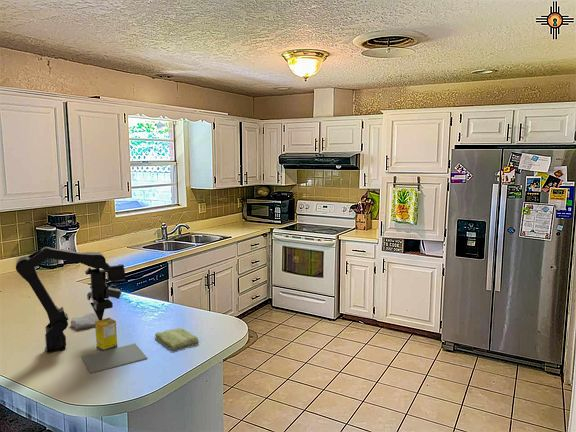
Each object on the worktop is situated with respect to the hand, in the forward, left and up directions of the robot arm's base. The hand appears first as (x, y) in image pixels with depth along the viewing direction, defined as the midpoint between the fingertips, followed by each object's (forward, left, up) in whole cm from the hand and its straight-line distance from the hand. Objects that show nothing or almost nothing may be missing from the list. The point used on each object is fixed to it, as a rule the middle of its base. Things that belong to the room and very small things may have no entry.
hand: (100, 320), depth 180 cm
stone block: (-1, +22, -9) cm, 24 cm away
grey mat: (0, -21, -9) cm, 22 cm away
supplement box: (0, -9, -9) cm, 12 cm away
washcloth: (+25, -19, -9) cm, 33 cm away
